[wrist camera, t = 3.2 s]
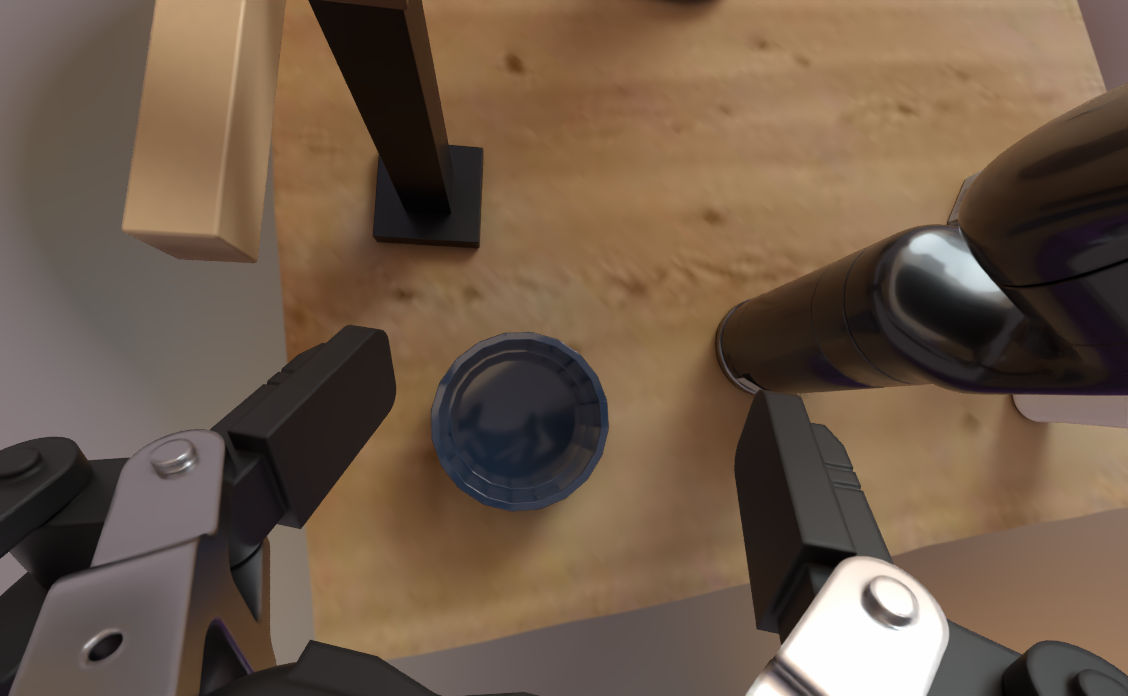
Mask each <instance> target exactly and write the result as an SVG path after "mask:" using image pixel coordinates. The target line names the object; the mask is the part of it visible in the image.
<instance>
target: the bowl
mask: <svg viewBox="0 0 1128 696" xmlns="http://www.w3.org/2000/svg"><path fill="white" fill-rule="evenodd" d="M608 428H609V422H608V406H607V399H606V397H605V394H604V391H603V389H602V386H601V384H600V381H599V378H598V376H597V375H596V373H595V372H594V371H593V370H592V368H591V367H590V366H589V365H588V363H587V362H586V361H585V360H584V358H583V357H582V356H581V355H580V354H579V353H577V352H576V351H574V350H573V349H571V348H570V347H568V346H567V345H565V344H564V343H562V342H561V341H559V340H558V339H554V338H551V337H547V336H544V335H541V334H537V333H534V332H519V333H503V334H500V335H497V336H494V337H492V338H489V339H486V340H483V341H480V342H479V343H477V344H475V345H474V346H473V347H471V348H470V349H469V350H467V351H466V352H465V353H463V354H462V355H461V356H460V357H458V358H457V360H455V361H454V363H453V364H452V366H451V367H450V368H449V370H448V371H447V373H446V374H445V376H444V377H443V378H442V380H441V381H440V383H439V386H438V389H437V393H436V396H435V399H434V402H433V405H432V409H431V433H432V441H433V444H434V447H435V450H436V453H437V455H438V458H439V461H440V464H441V466H442V468H443V469H444V470H445V472H446V473H447V474H448V475H449V477H450V478H451V479H452V480H453V482H454V483H455V484H456V486H457V487H458V488H459V489H460V490H462V491H463V492H465V493H466V494H468V495H469V496H471V497H472V498H474V499H476V500H477V501H479V502H480V503H482V504H484V505H487V506H491V507H495V508H499V509H503V510H507V511H525V510H537V509H542V508H544V507H546V506H549V505H551V504H554V503H556V502H558V501H561V500H563V499H565V498H567V497H568V496H569V495H570V494H572V493H573V492H574V491H575V490H576V489H577V488H579V487H580V486H581V485H582V484H583V483H584V482H585V481H587V479H588V478H589V476H590V475H591V473H592V472H593V470H594V468H595V467H596V465H597V463H598V462H599V460H600V458H601V457H602V454H603V450H604V446H605V442H606V438H607V434H608V430H609V429H608Z"/></svg>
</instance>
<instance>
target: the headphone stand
mask: <svg viewBox="0 0 1128 696" xmlns="http://www.w3.org/2000/svg"><path fill="white" fill-rule="evenodd" d="M308 1H309V3H310V5H311V7H312V9H313V11H314V14H315V16H316V18H317V20H318V22H319V25H320V27H321V29H322V31H323V33H324V35H325V38H326V40H327V42H328V44H329V46H330V48H331V51H332V53H333V55H334V57H335V59H336V62H337V64H338V66H339V68H340V70H341V72H342V75H343V77H344V79H345V81H346V83H347V85H348V88H349V90H350V92H351V94H352V96H353V99H354V101H355V103H356V105H357V107H358V109H359V112H360V114H361V116H362V118H363V120H364V123H365V125H366V127H367V129H368V131H369V133H370V136H371V138H372V140H373V142H374V144H375V146H376V149H377V151H378V153H379V160H378V174H377V187H376V201H375V214H374V227H373V237H374V238H375V240H376V241H377V242H387V243H404V244H420V245H437V246H453V247H470V248H479V247H480V225H481V202H482V178H483V148H479V147H467V146H456V145H448V140H447V134H446V129H445V123H444V118H443V113H442V107H441V102H440V97H439V91H438V86H437V80H436V75H435V70H434V64H433V59H432V53H431V48H430V43H429V37H428V32H427V27H426V21H425V16H424V10H423V5H422V0H308Z"/></svg>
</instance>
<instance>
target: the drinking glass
mask: <svg viewBox="0 0 1128 696" xmlns="http://www.w3.org/2000/svg"><path fill="white" fill-rule="evenodd" d="M1013 400H1014V403H1015V405H1016V407H1017V409H1018V410H1019V411H1020V413H1021V414H1022V415H1024V416H1025V417H1026V418H1028V419H1030V420H1032V421H1036V422H1044V423H1069V424H1081V425H1093V426H1104V427H1116V428H1127V429H1128V396H1076V395H1013Z"/></svg>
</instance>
